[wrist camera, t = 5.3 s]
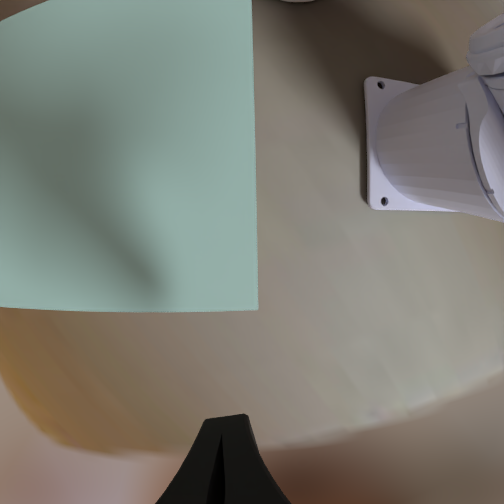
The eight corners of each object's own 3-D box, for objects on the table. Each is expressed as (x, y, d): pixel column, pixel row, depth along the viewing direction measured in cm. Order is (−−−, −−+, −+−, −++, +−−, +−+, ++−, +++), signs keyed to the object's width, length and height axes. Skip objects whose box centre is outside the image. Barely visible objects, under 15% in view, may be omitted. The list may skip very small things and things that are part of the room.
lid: (249, -28, 10) (250, -34, 10) (257, 304, 14) (258, 310, 13) (-11, 32, 10) (-17, 29, 9) (-9, 301, 13) (-15, 305, 13)
